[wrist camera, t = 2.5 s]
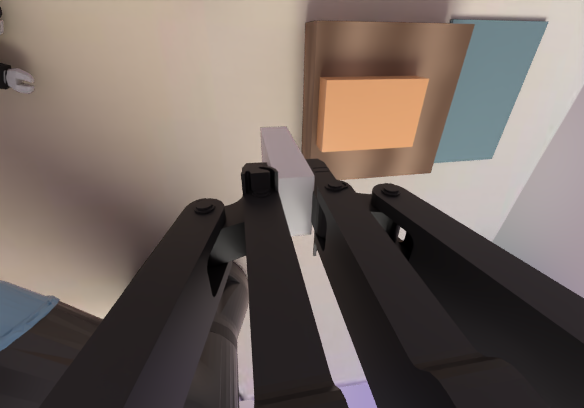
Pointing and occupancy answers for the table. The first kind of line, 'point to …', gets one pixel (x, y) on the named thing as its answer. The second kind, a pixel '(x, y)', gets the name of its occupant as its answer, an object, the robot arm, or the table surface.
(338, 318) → the table surface
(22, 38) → the table surface
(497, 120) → the mat
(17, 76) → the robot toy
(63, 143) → the table surface
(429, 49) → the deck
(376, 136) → the tile
